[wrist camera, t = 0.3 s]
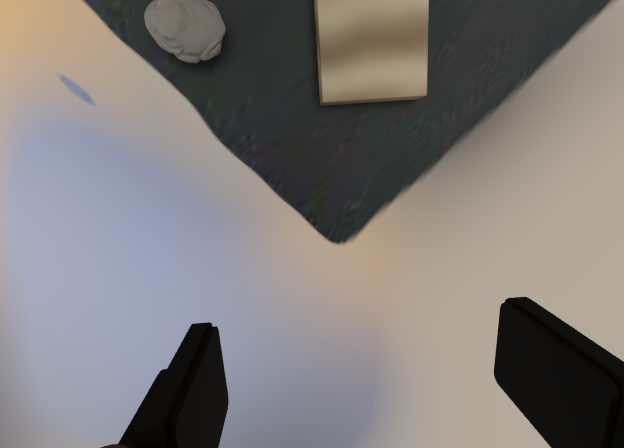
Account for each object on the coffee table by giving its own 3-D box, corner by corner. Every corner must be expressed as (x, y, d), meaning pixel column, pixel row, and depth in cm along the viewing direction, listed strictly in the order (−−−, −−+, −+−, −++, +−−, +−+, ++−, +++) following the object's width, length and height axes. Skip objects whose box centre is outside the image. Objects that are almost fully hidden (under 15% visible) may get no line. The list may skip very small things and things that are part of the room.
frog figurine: (165, 4, 34) (134, -29, 27) (233, 10, 35) (218, -22, 28) (168, 67, 36) (139, 50, 29) (233, 72, 36) (219, 56, 29)
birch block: (313, -2, 35) (316, -20, 31) (414, -8, 35) (429, -26, 32) (320, 106, 38) (323, 102, 34) (413, 99, 38) (426, 95, 34)
